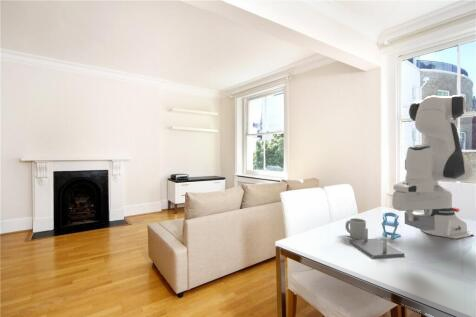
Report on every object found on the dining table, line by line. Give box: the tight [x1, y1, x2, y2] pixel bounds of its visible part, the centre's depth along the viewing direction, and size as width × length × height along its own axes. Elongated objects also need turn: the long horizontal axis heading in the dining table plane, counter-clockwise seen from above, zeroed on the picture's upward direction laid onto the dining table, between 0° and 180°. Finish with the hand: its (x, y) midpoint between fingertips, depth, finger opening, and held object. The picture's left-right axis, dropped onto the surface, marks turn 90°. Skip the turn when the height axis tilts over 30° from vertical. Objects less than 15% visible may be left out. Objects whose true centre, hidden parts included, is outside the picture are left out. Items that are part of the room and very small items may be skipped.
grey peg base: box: [349, 227, 405, 259], centre depth 106 cm, size 14×17×7 cm
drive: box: [404, 210, 435, 231], centre depth 93 cm, size 4×9×5 cm, turn 6°
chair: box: [381, 212, 401, 240], centre depth 120 cm, size 8×8×12 cm
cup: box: [345, 217, 367, 240], centre depth 120 cm, size 7×10×9 cm
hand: (418, 220), depth 93 cm, fingers closed on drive, 4 cm apart
